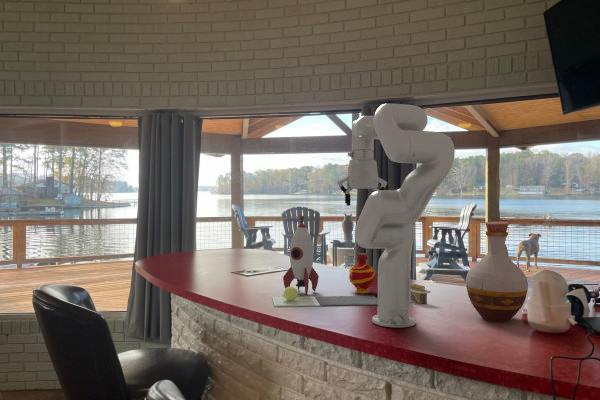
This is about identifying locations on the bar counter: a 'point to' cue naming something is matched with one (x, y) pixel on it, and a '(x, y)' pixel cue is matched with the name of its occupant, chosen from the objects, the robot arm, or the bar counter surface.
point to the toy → (301, 260)
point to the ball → (290, 293)
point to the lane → (326, 301)
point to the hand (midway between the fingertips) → (362, 205)
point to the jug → (496, 279)
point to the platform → (419, 293)
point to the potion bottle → (362, 274)
